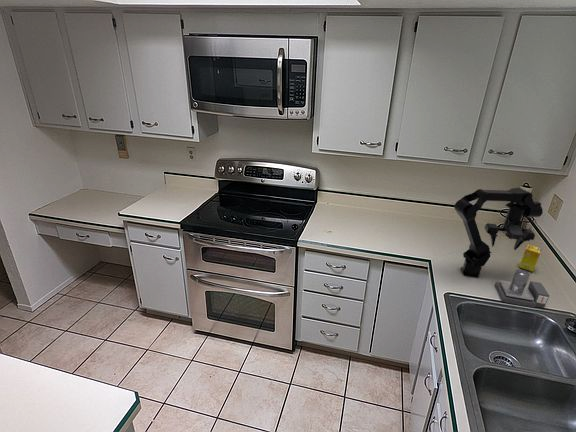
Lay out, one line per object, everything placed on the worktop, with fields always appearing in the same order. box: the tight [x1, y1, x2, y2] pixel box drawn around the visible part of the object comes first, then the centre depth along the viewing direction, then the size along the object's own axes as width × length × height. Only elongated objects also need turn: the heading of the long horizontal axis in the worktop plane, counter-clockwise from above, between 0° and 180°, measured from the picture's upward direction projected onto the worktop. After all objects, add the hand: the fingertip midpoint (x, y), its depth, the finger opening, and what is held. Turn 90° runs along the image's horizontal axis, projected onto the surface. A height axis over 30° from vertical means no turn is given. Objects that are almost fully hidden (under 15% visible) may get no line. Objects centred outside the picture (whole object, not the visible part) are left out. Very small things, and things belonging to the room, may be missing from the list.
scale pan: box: [499, 279, 534, 300], centre depth 148 cm, size 10×10×1 cm
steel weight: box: [510, 268, 531, 292], centre depth 146 cm, size 5×5×8 cm
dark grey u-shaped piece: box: [494, 280, 550, 309], centre depth 148 cm, size 16×12×6 cm
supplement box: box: [518, 244, 542, 273], centre depth 168 cm, size 6×6×11 cm
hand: (503, 247), depth 161 cm, fingers open, 9 cm apart
